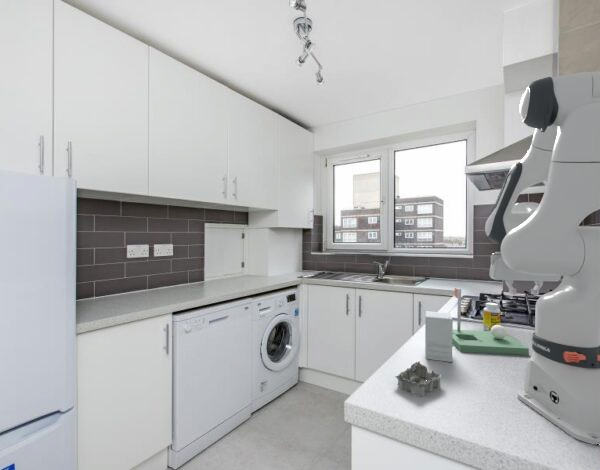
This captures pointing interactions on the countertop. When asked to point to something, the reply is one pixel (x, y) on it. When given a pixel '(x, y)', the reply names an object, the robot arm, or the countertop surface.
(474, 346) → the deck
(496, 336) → the ball
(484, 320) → the supplement bottle
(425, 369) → the egg carton
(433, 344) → the supplement box
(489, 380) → the countertop surface
